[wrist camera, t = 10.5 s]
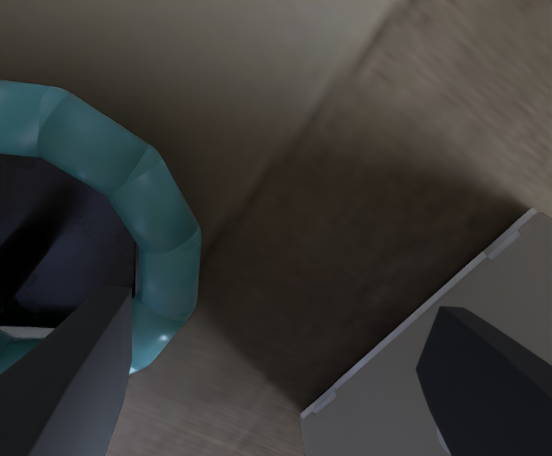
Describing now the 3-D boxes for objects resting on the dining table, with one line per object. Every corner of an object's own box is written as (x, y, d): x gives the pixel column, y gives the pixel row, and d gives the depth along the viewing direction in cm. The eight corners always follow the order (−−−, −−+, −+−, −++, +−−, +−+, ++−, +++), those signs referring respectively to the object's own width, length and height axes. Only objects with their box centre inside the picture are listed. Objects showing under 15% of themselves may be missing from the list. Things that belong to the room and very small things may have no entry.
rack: (140, 316, 22) (103, 440, 15) (-51, 307, 20) (-178, 440, 14) (140, 149, 18) (92, 222, 11) (-95, 123, 16) (-300, 190, 10)
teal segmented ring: (192, 369, 22) (188, 408, 20) (-104, 360, 20) (-145, 403, 18) (212, 100, 16) (209, 114, 14) (-209, 46, 14) (-292, 52, 12)
